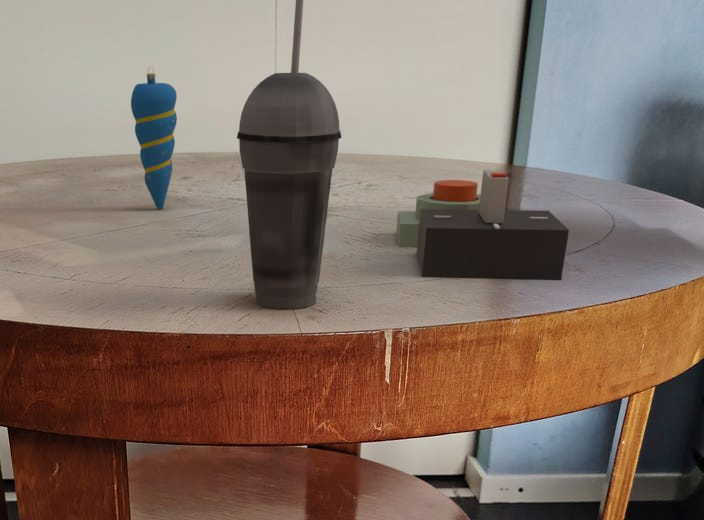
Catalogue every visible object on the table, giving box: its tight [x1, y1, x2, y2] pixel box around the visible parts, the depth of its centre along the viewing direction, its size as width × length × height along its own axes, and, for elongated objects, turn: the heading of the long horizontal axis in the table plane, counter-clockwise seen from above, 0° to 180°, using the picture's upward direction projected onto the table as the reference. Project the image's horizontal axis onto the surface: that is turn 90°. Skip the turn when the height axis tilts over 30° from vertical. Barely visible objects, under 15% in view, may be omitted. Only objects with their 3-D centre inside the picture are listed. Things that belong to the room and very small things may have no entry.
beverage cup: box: [236, 0, 342, 310], centre depth 63 cm, size 7×7×20 cm
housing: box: [396, 192, 481, 248], centre depth 86 cm, size 10×7×4 cm
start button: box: [432, 179, 479, 202], centre depth 85 cm, size 4×4×2 cm
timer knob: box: [479, 169, 510, 223], centre depth 74 cm, size 5×1×4 cm, turn 172°
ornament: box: [130, 66, 178, 210], centre depth 102 cm, size 5×5×15 cm
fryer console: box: [416, 209, 570, 281], centre depth 76 cm, size 11×9×4 cm
